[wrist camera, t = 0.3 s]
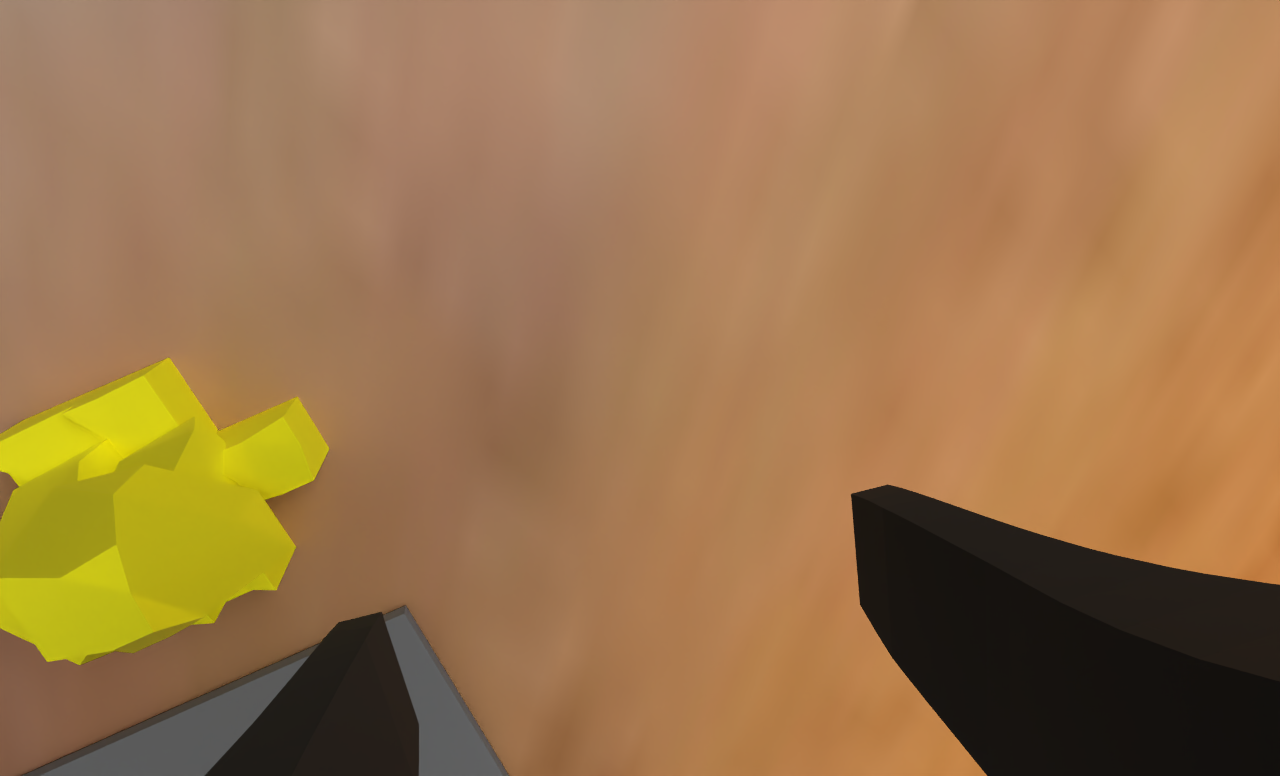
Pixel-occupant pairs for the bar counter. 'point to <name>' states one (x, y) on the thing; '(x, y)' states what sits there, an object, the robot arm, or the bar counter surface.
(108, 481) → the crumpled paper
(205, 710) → the mat
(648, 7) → the bar counter surface
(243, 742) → the robot arm
